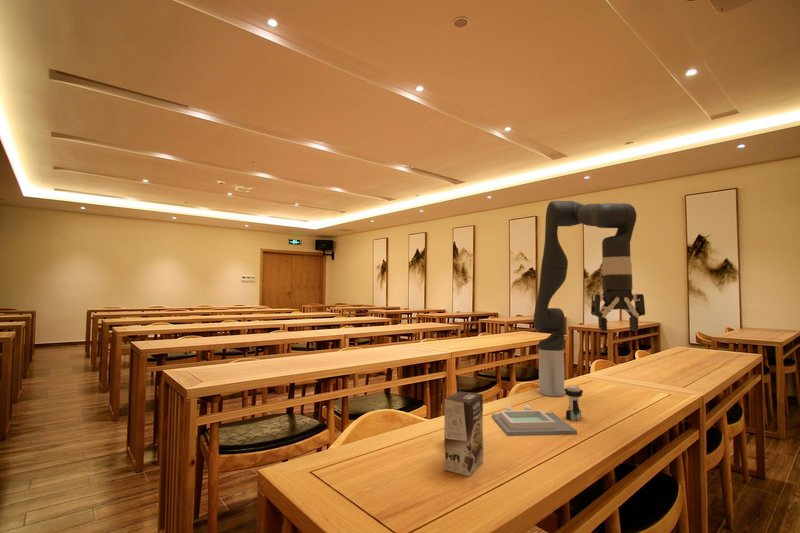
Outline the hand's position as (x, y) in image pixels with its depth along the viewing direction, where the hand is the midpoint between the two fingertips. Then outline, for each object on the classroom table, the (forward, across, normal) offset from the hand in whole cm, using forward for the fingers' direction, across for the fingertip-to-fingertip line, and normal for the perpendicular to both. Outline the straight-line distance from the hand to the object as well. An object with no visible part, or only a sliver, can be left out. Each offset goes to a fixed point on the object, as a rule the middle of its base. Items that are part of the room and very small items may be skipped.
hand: (618, 331), depth 111 cm
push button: (+30, +5, -16) cm, 34 cm away
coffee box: (+30, +47, +15) cm, 58 cm away
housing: (+29, +21, -11) cm, 38 cm away
